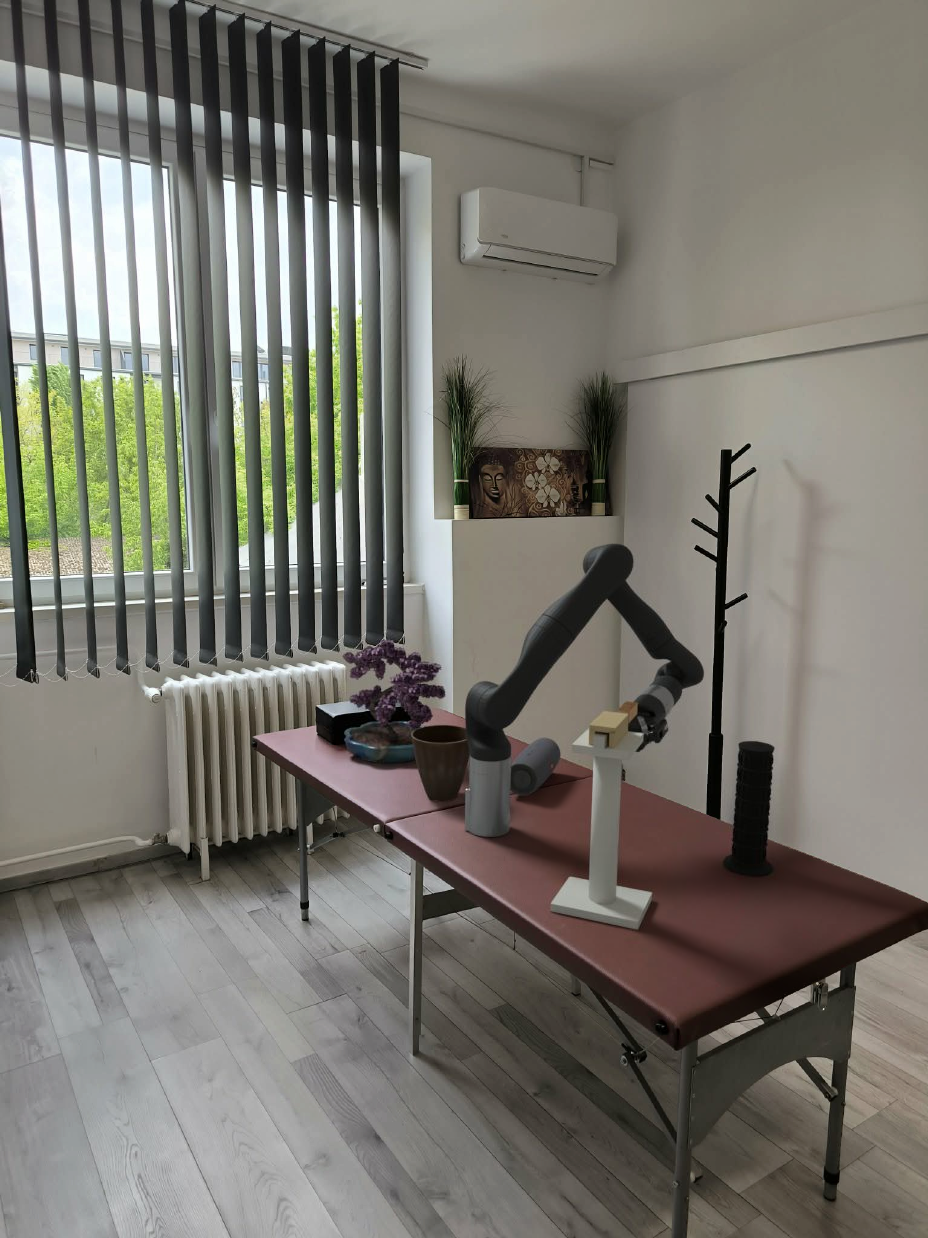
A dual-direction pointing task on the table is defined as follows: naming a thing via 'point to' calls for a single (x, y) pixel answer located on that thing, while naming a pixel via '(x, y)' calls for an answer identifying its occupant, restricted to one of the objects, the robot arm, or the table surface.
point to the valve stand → (605, 833)
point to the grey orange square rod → (603, 738)
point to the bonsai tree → (391, 703)
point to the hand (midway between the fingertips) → (617, 746)
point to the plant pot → (441, 759)
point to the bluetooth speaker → (534, 766)
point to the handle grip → (752, 810)
